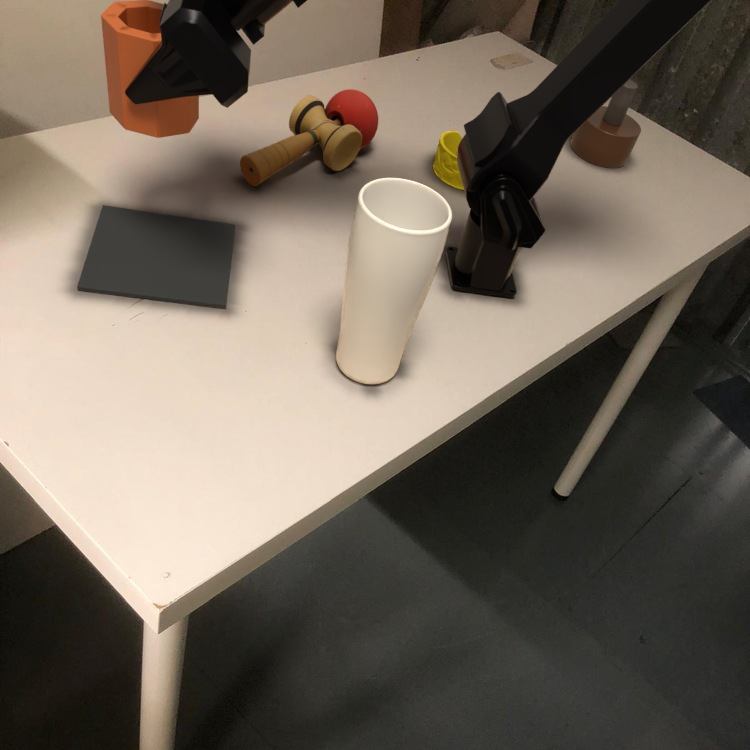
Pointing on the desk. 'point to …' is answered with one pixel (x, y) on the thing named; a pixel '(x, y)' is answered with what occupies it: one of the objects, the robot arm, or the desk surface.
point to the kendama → (318, 134)
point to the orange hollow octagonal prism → (126, 57)
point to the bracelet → (448, 159)
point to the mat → (159, 257)
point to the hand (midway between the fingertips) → (136, 76)
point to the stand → (609, 131)
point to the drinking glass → (388, 273)
